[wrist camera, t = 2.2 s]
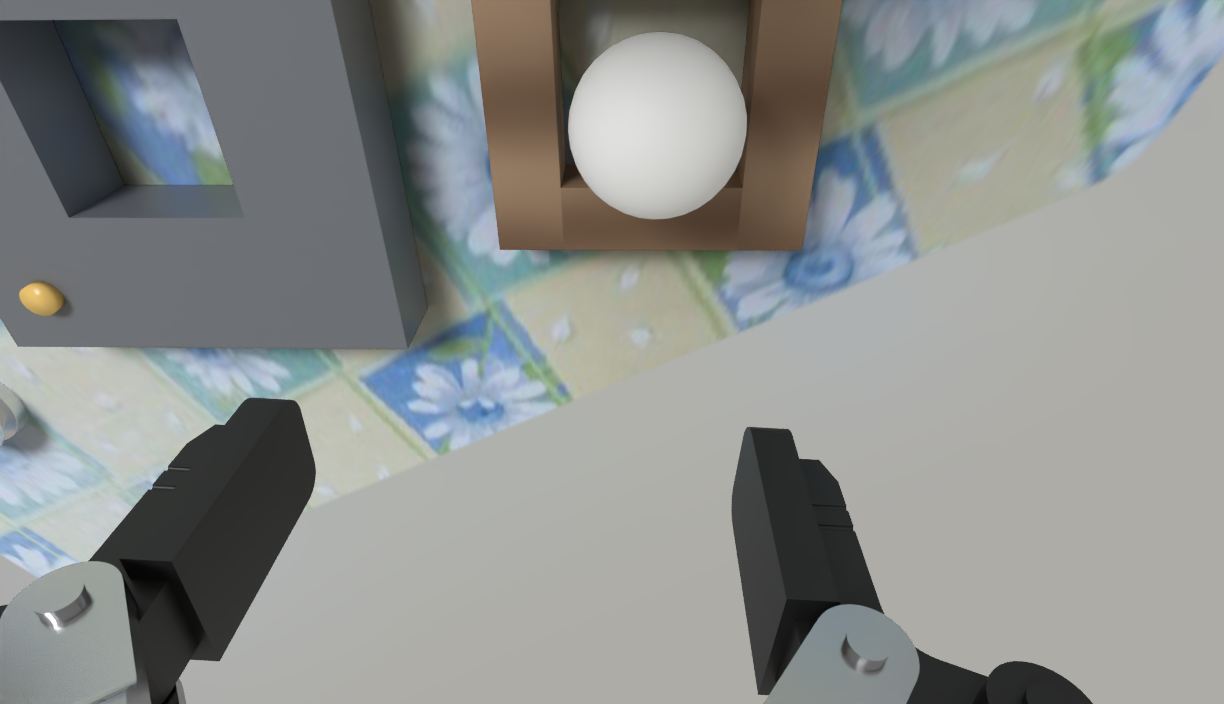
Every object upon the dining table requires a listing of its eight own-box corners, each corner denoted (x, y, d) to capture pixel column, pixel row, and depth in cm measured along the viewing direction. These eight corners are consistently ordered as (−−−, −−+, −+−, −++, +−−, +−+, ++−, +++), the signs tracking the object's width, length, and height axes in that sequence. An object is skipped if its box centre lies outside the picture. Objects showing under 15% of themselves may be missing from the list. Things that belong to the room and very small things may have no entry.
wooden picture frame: (474, -115, 26) (458, -114, 24) (840, -120, 26) (862, -120, 23) (509, 223, 34) (500, 249, 32) (789, 223, 34) (801, 250, 31)
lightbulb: (714, -15, 28) (752, 33, 19) (727, 132, 31) (765, 233, 22) (569, 14, 29) (539, 74, 20) (597, 155, 32) (583, 261, 23)
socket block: (-204, -204, 25) (-352, -219, 21) (327, -213, 25) (271, -231, 21) (71, 306, 38) (8, 353, 34) (427, 307, 37) (404, 356, 33)
